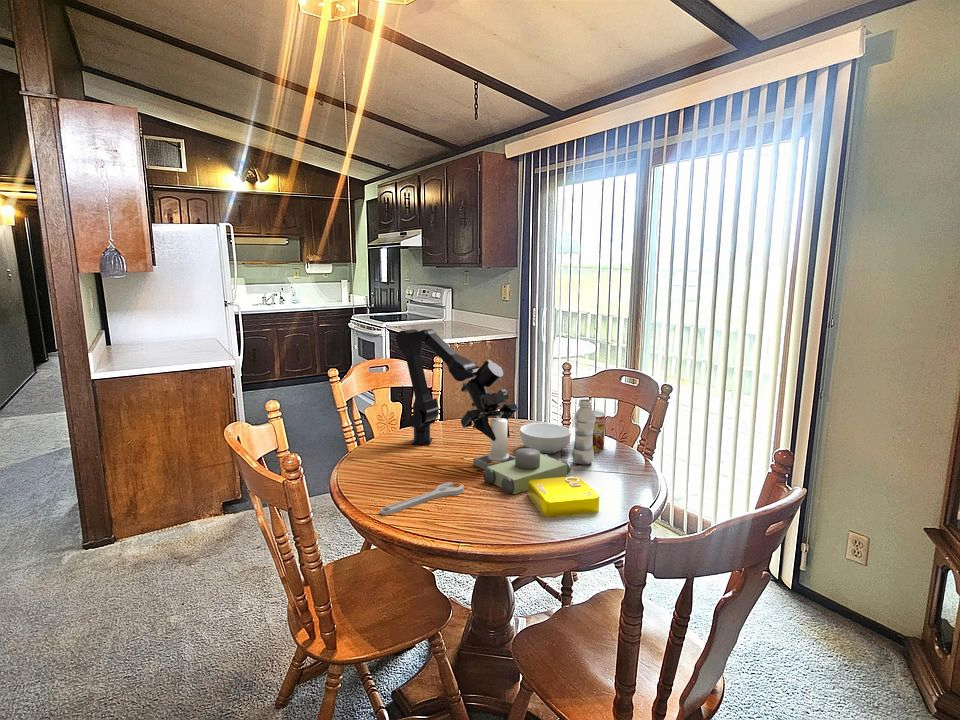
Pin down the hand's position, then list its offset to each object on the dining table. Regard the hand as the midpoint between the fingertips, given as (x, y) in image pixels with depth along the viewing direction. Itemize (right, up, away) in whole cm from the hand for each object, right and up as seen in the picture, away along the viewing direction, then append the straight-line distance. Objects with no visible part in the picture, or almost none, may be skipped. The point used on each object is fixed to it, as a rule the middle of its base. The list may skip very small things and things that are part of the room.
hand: (501, 438), depth 164 cm
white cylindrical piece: (-1, -6, +2) cm, 7 cm away
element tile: (+15, -14, -23) cm, 30 cm away
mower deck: (+3, -10, -3) cm, 11 cm away
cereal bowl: (+15, -7, +18) cm, 24 cm away
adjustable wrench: (-22, -13, -22) cm, 33 cm away
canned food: (+31, -6, +20) cm, 37 cm away
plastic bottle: (+25, -9, +5) cm, 27 cm away
